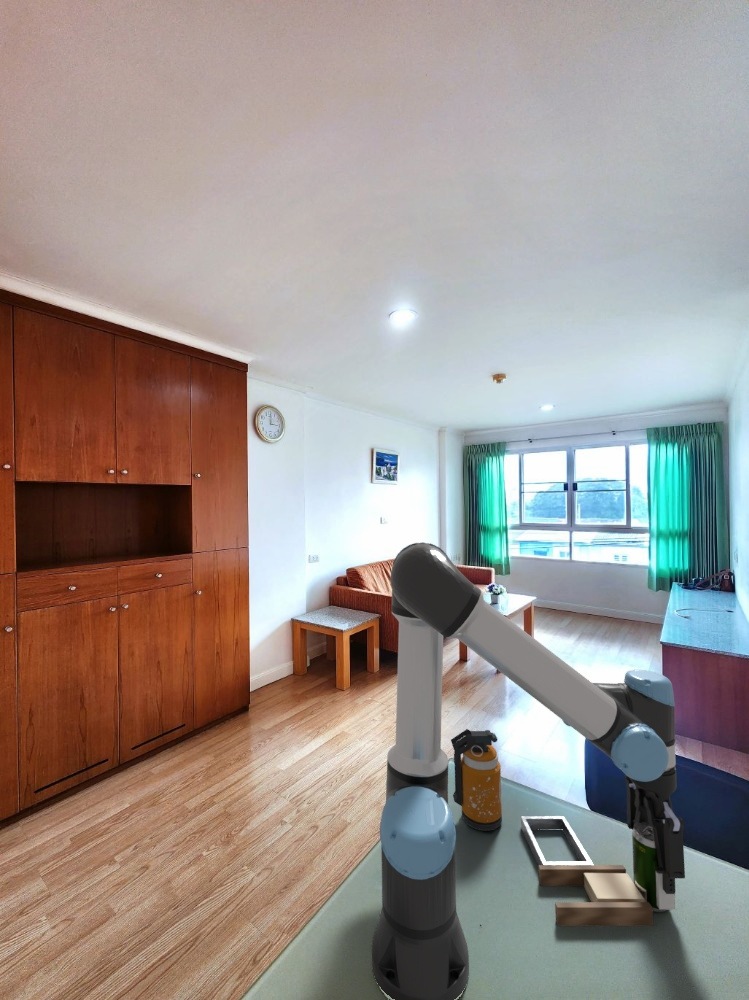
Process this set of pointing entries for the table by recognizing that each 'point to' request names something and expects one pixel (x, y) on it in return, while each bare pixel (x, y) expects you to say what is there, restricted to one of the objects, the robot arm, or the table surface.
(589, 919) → the beam
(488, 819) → the canister
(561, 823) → the frame
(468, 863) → the table surface
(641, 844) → the beer can
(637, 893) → the block
